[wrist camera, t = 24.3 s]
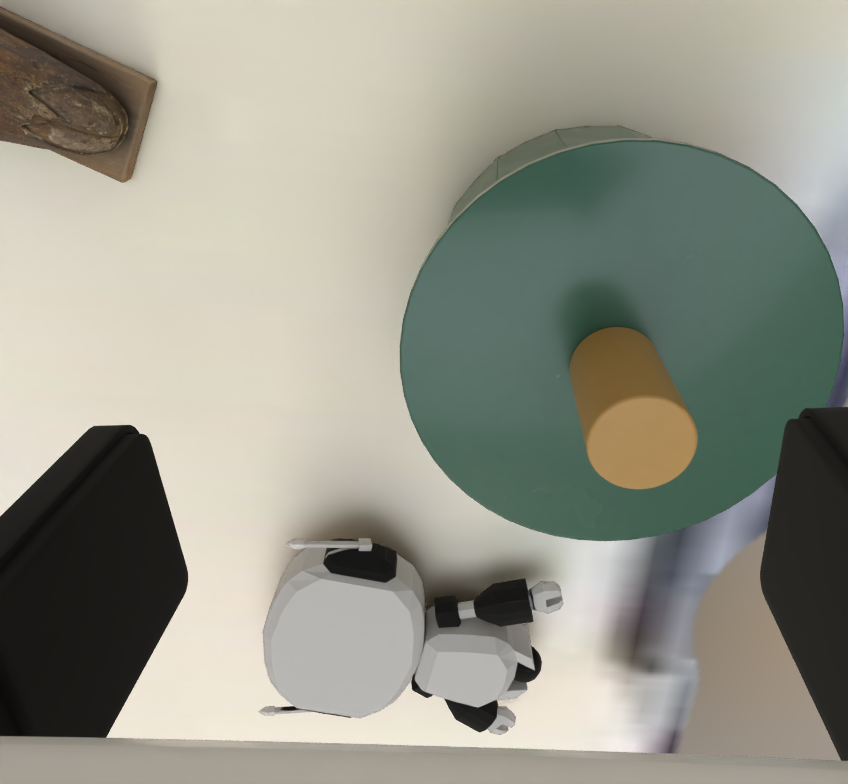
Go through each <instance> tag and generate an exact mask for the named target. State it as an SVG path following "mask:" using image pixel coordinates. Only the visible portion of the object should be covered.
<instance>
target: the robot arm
mask: <svg viewBox="0 0 848 784" xmlns="http://www.w3.org/2000/svg"><path fill="white" fill-rule="evenodd" d="M760 580H761V587H762V591H763V594H764V597H765V599H766V601H767V603H768V605H769V608H770V610H771V612H772V614H773V616H774V618H775V620H776V623H777V625H778V627H779V629H780V631H781V633H782V635H783V637H784V640H785V642H786V644H787V646H788V648H789V650H790V652H791V655H792V657H793V659H794V661H795V663H796V665H797V667H798V669H799V671H800V674H801V676H802V678H803V680H804V682H805V684H806V686H807V689H808V691H809V693H810V695H811V697H812V699H813V701H814V703H815V705H816V708H817V710H818V712H819V714H820V716H821V718H822V720H823V722H824V725H825V727H826V729H827V731H828V733H829V735H830V737H831V740H832V742H833V744H834V746H835V748H836V750H837V752H838V754H839V757H840V759H841V761H836V760H835V761H834V760H811V759H789V758H767V757H749V756H719V755H690V754H689V755H688V754H661V753H631V752H602V751H573V750H543V749H513V748H479V747H445V746H411V745H376V744H339V743H302V742H266V741H222V740H178V739H133V738H106V737H107V735H108V733H109V731H110V729H111V727H112V726H113V724H114V722H115V720H116V718H117V717H118V715H119V713H120V711H121V709H122V707H123V706H124V704H125V702H126V700H127V698H128V697H129V695H130V693H131V691H132V689H133V687H134V686H135V684H136V682H137V680H138V678H139V676H140V675H141V673H142V671H143V669H144V667H145V666H146V664H147V662H148V660H149V658H150V656H151V655H152V653H153V651H154V649H155V647H156V646H157V644H158V642H159V640H160V638H161V636H162V635H163V633H164V631H165V629H166V627H167V625H168V624H169V622H170V620H171V618H172V616H173V615H174V613H175V611H176V609H177V607H178V605H179V604H180V602H181V600H182V598H183V596H184V594H185V592H186V589H187V584H188V571H187V567H186V563H185V560H184V556H183V553H182V549H181V546H180V543H179V539H178V536H177V532H176V529H175V525H174V522H173V518H172V515H171V512H170V508H169V505H168V501H167V498H166V494H165V491H164V487H163V484H162V480H161V477H160V474H159V470H158V467H157V463H156V460H155V456H154V453H153V449H152V446H151V443H150V441H149V439H148V437H147V436H146V435H144V434H139V432H138V430H137V429H136V428H135V427H133V426H132V425H113V426H93V427H92V428H90V429H89V430H88V431H87V432H85V433H84V434H83V435H82V436H81V437H80V438H79V439H78V440H77V441H76V442H75V443H74V444H73V445H72V446H71V447H70V448H69V449H68V450H67V451H66V452H65V453H64V454H63V455H62V456H61V457H60V458H59V459H58V460H57V461H56V462H55V463H54V464H53V465H52V466H51V467H50V468H49V469H48V470H47V471H46V472H45V473H44V474H43V475H42V476H41V477H40V478H39V479H38V480H37V481H36V482H35V483H34V484H33V485H32V486H31V487H30V488H29V489H28V490H27V491H26V492H25V493H24V494H23V495H22V496H21V497H20V498H19V499H18V500H17V501H16V502H15V503H14V504H13V505H12V506H11V507H10V508H9V509H8V510H6V511H5V512H4V513H3V514H2V515H1V516H0V784H848V407H835V408H805V409H804V410H802V411H801V413H800V415H799V418H798V419H790V420H788V421H787V423H786V425H785V429H784V435H783V440H782V446H781V452H780V458H779V464H778V470H777V476H776V482H775V487H774V493H773V499H772V505H771V511H770V517H769V523H768V528H767V534H766V540H765V546H764V552H763V558H762V564H761V571H760Z"/></svg>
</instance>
